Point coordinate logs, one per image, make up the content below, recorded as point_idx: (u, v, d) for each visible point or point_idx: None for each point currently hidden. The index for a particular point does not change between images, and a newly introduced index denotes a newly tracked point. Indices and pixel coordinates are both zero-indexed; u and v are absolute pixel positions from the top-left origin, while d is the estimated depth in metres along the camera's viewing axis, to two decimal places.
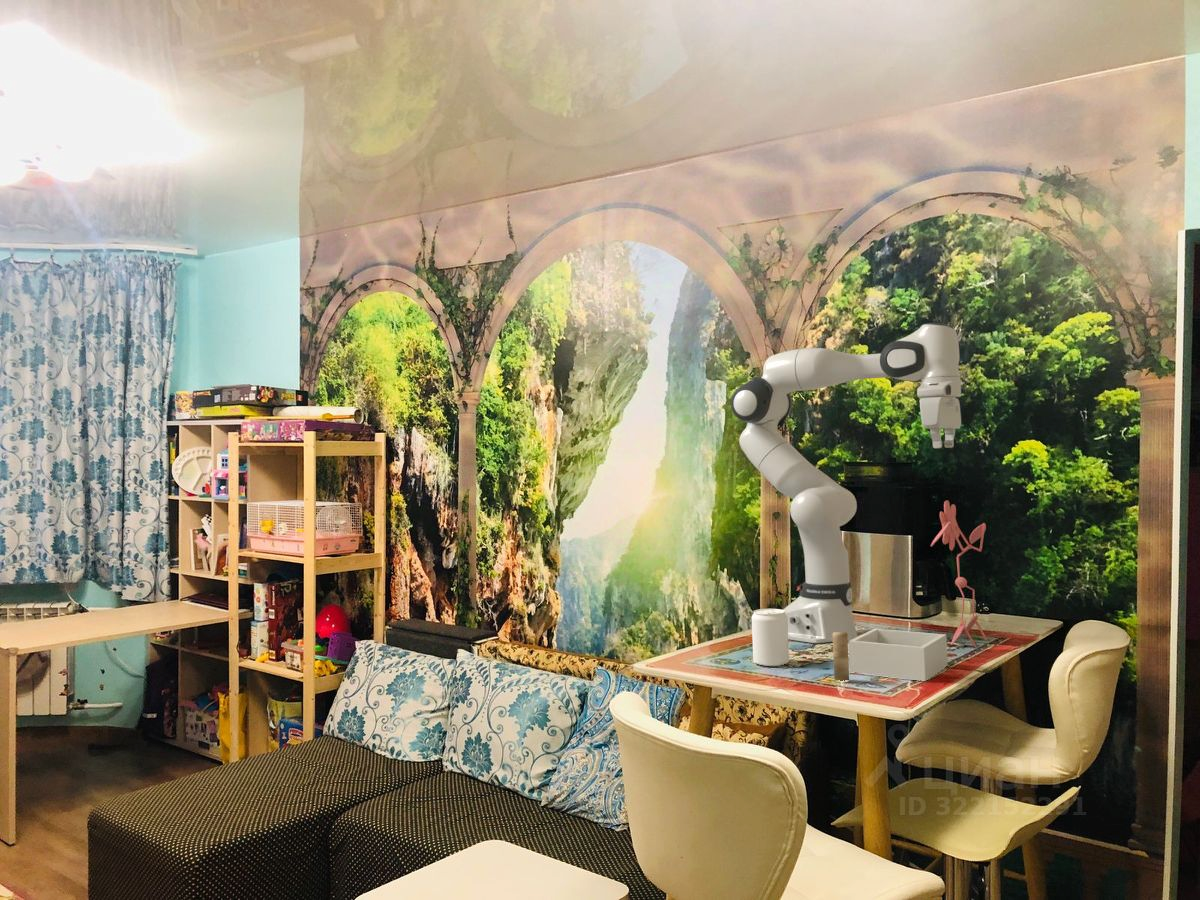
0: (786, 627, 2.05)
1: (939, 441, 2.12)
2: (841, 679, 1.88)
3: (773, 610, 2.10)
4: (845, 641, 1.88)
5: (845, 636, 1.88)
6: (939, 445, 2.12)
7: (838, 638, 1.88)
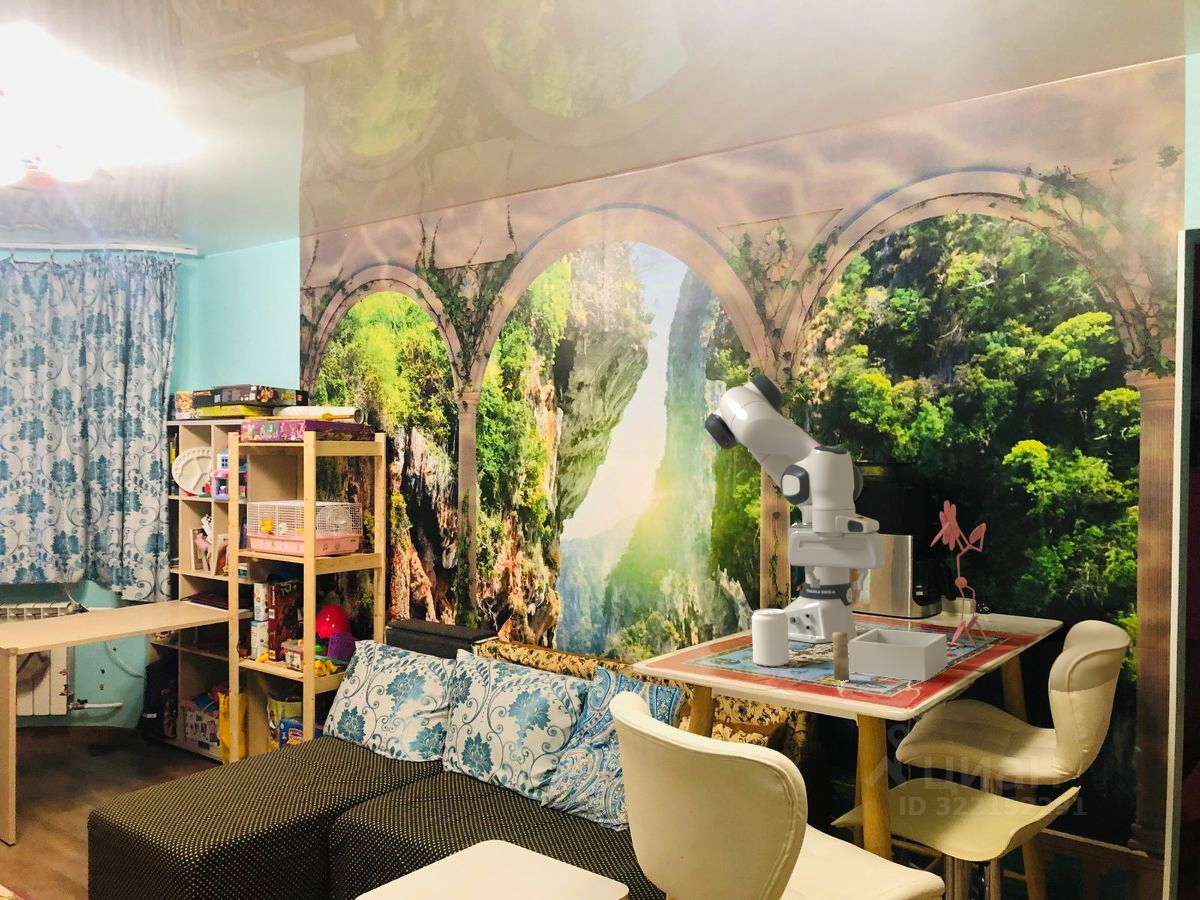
0: (786, 627, 2.05)
1: (862, 582, 1.87)
2: (841, 679, 1.88)
3: (773, 610, 2.10)
4: (845, 641, 1.88)
5: (845, 636, 1.88)
6: (862, 587, 1.87)
7: (838, 638, 1.88)
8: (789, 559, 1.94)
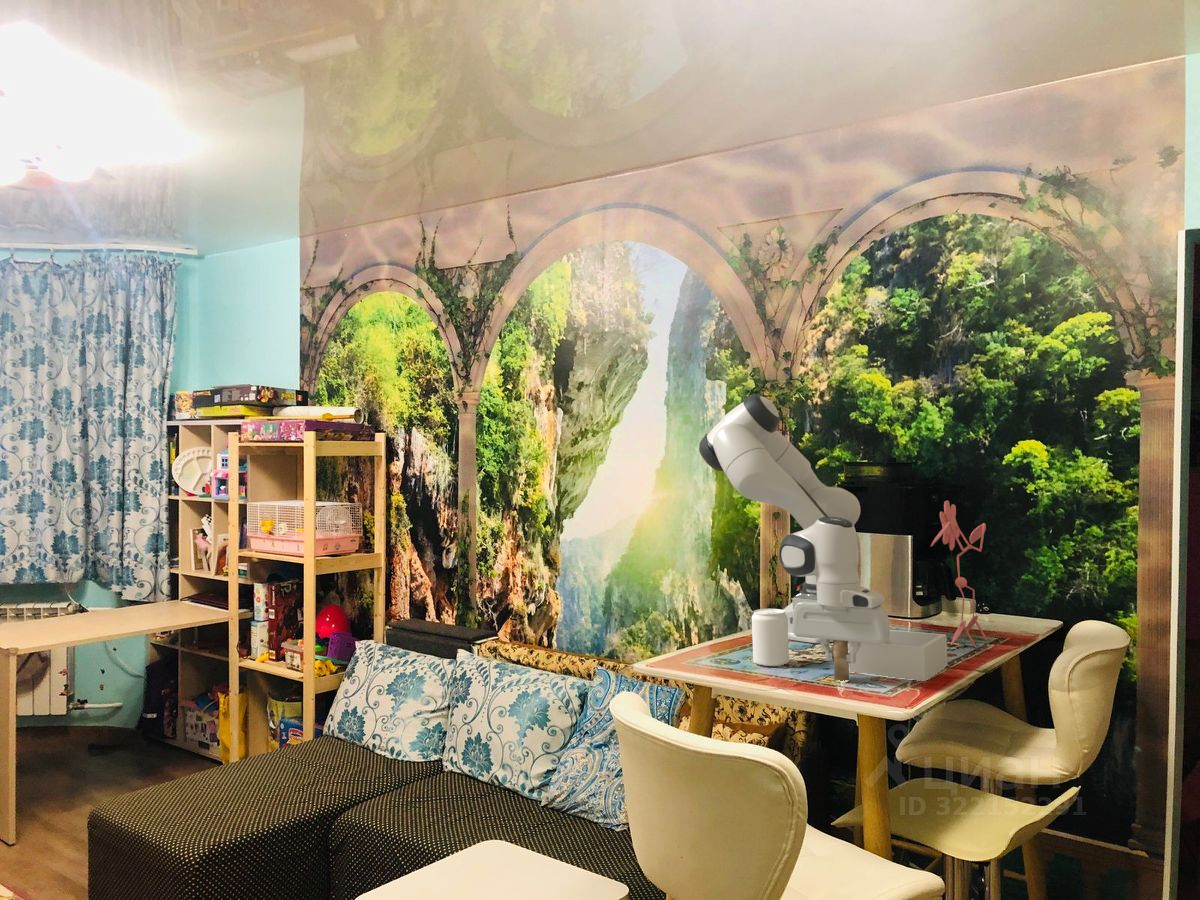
0: (786, 627, 2.05)
1: (855, 654, 1.88)
2: (841, 679, 1.88)
3: (773, 610, 2.10)
4: (845, 641, 1.88)
5: None
6: (855, 659, 1.88)
7: None
8: (793, 630, 1.93)
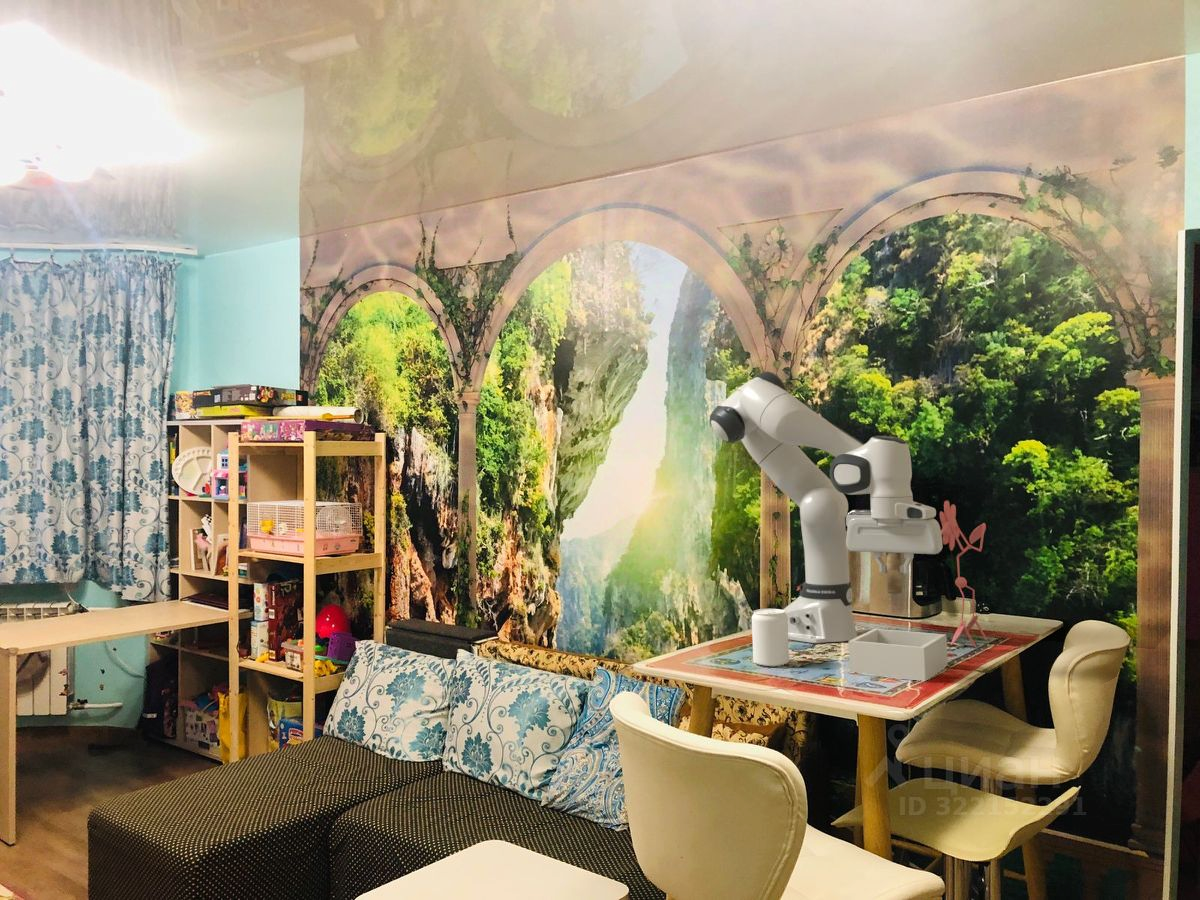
0: (786, 627, 2.05)
1: (908, 566, 1.96)
2: (894, 590, 1.96)
3: (773, 610, 2.10)
4: (899, 553, 1.96)
5: None
6: (908, 570, 1.96)
7: None
8: (847, 545, 2.02)
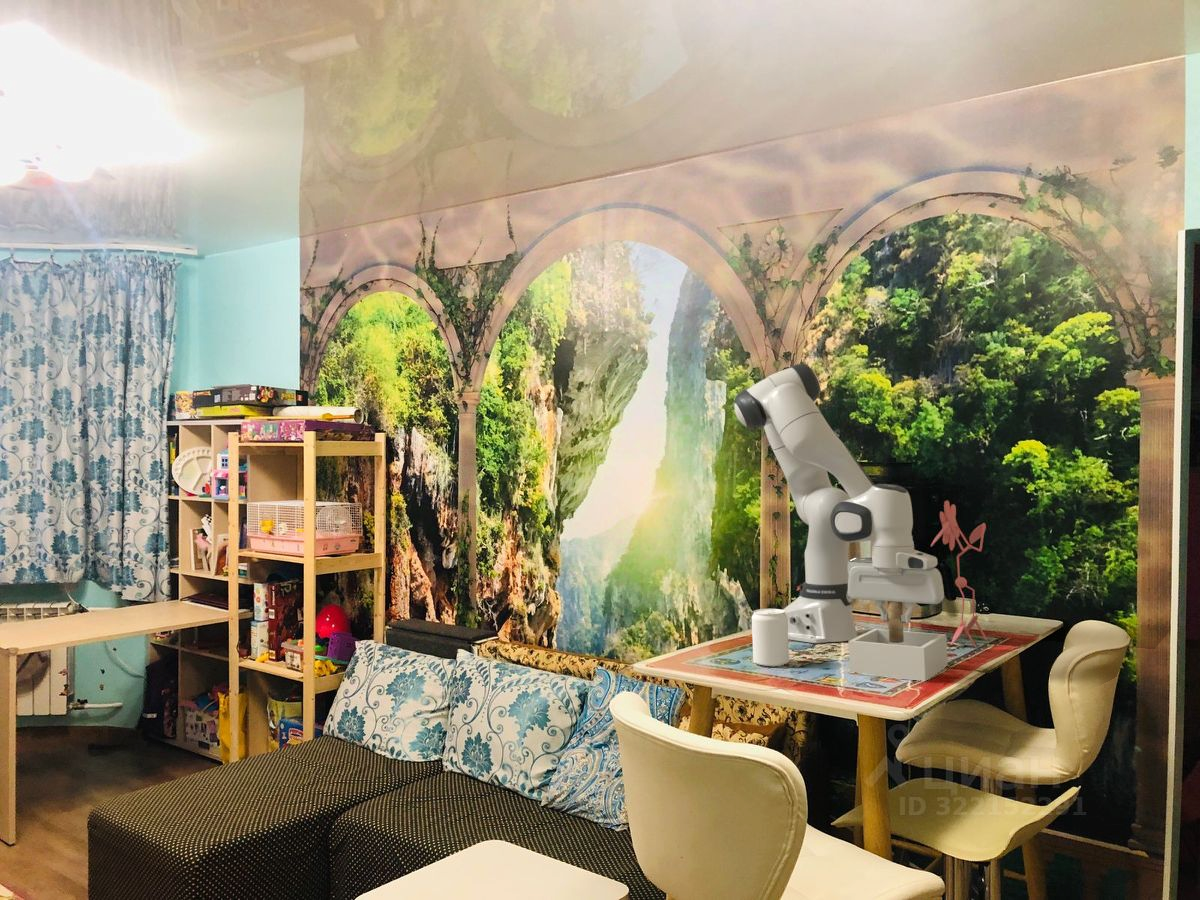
0: (786, 627, 2.05)
1: (909, 615, 1.96)
2: (896, 639, 1.96)
3: (773, 610, 2.10)
4: (900, 602, 1.96)
5: None
6: (909, 619, 1.96)
7: None
8: (849, 592, 2.01)
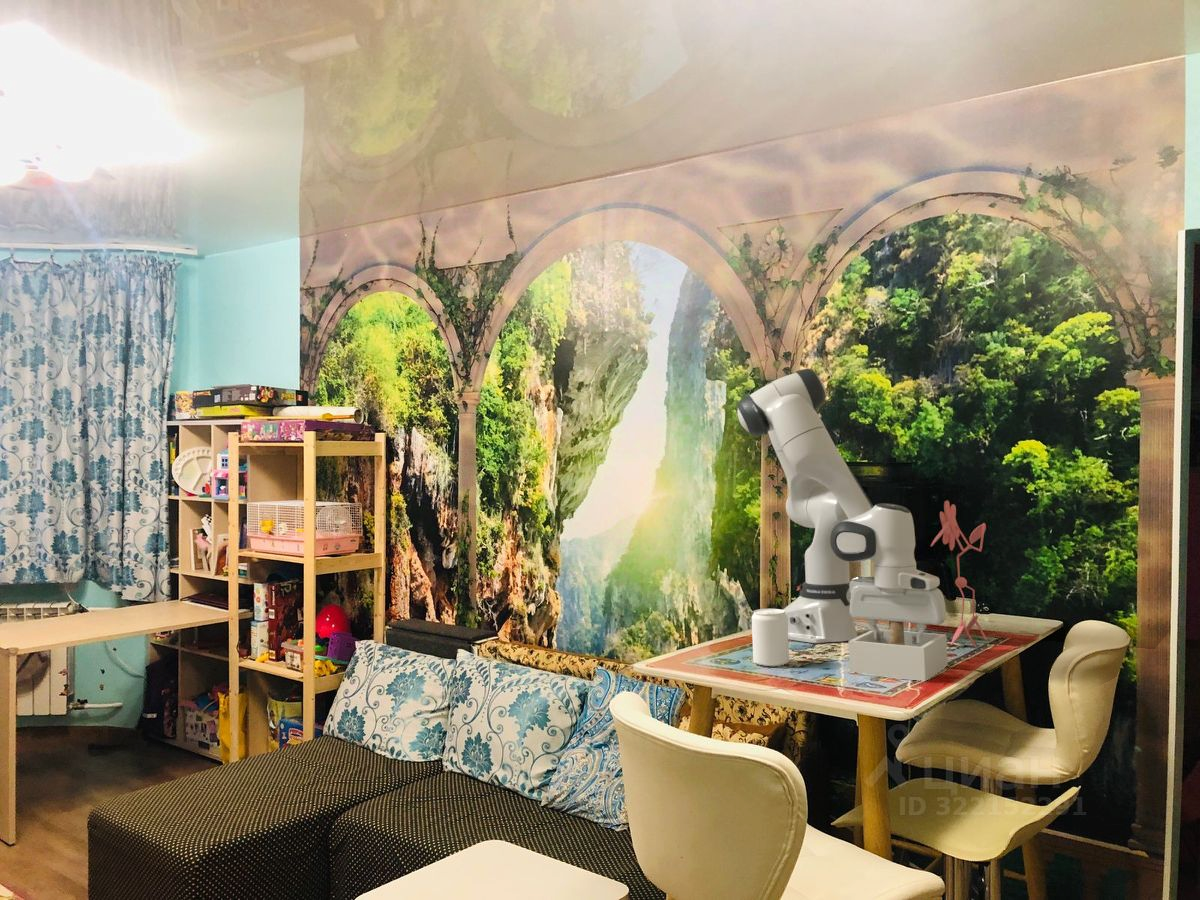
0: (786, 627, 2.05)
1: None
2: None
3: (773, 610, 2.10)
4: (902, 626, 1.96)
5: None
6: (921, 640, 1.95)
7: (894, 624, 1.96)
8: (851, 612, 2.01)
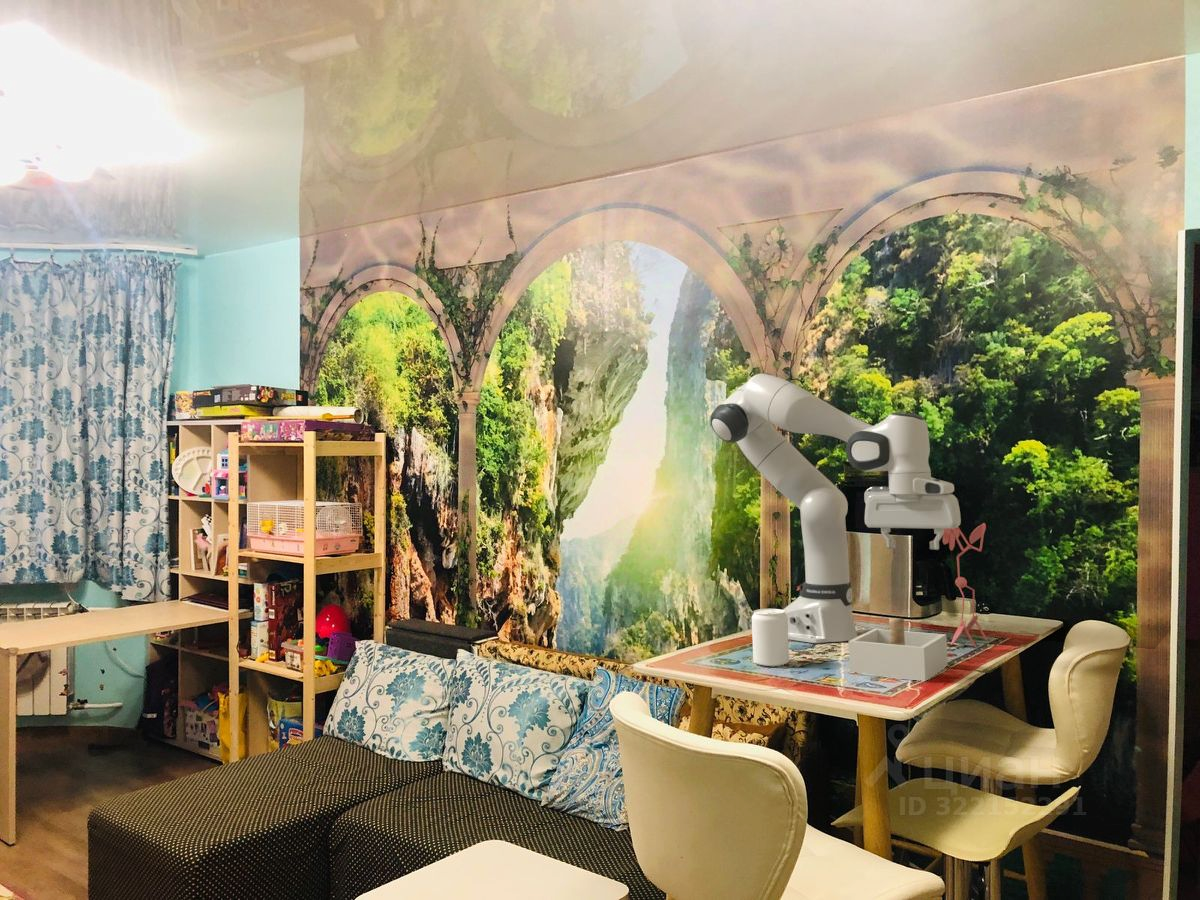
0: (786, 627, 2.05)
1: (938, 542, 1.96)
2: None
3: (773, 610, 2.10)
4: (902, 626, 1.96)
5: (902, 622, 1.96)
6: (938, 546, 1.96)
7: (894, 624, 1.96)
8: (866, 521, 2.03)
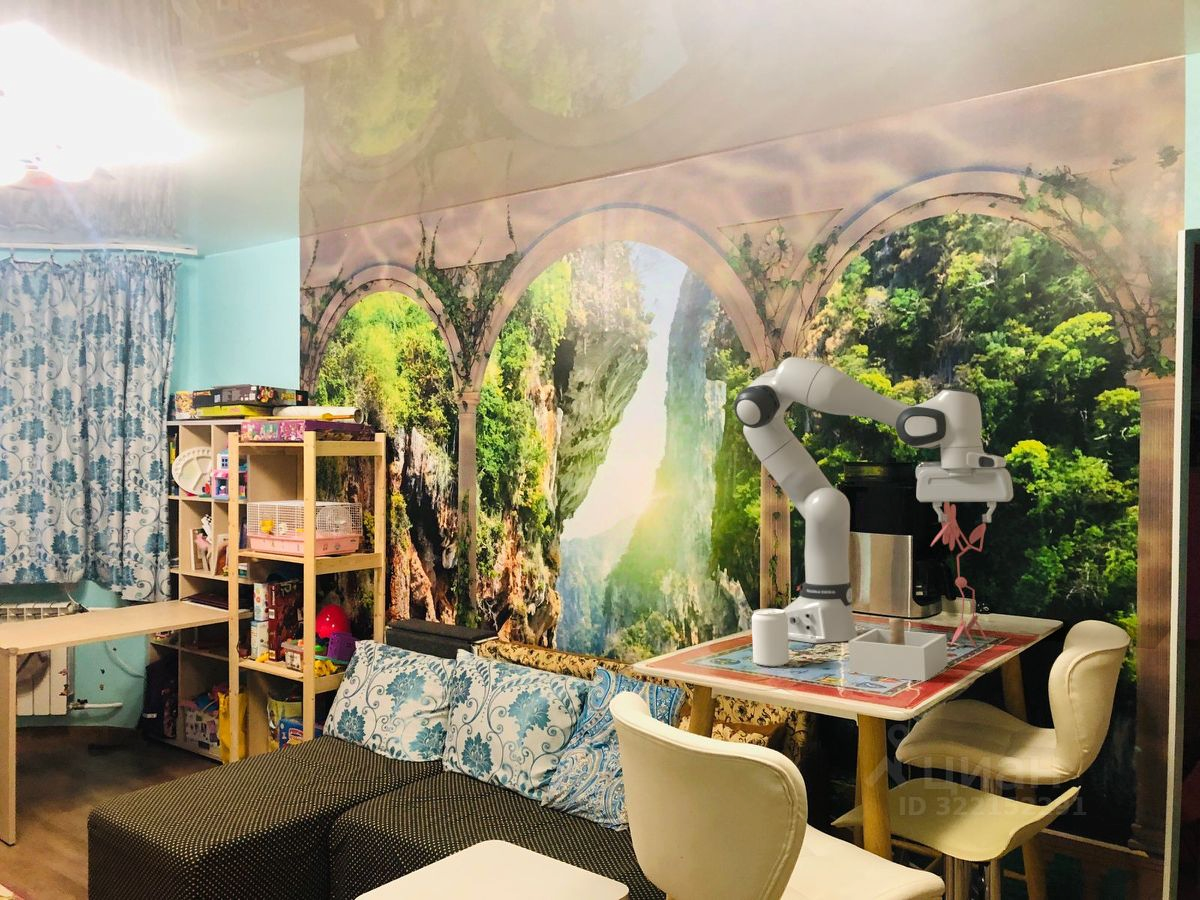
0: (786, 627, 2.05)
1: (990, 515, 2.00)
2: None
3: (773, 610, 2.10)
4: (902, 626, 1.96)
5: (902, 622, 1.96)
6: (990, 519, 2.00)
7: (895, 624, 1.96)
8: (917, 496, 2.07)
